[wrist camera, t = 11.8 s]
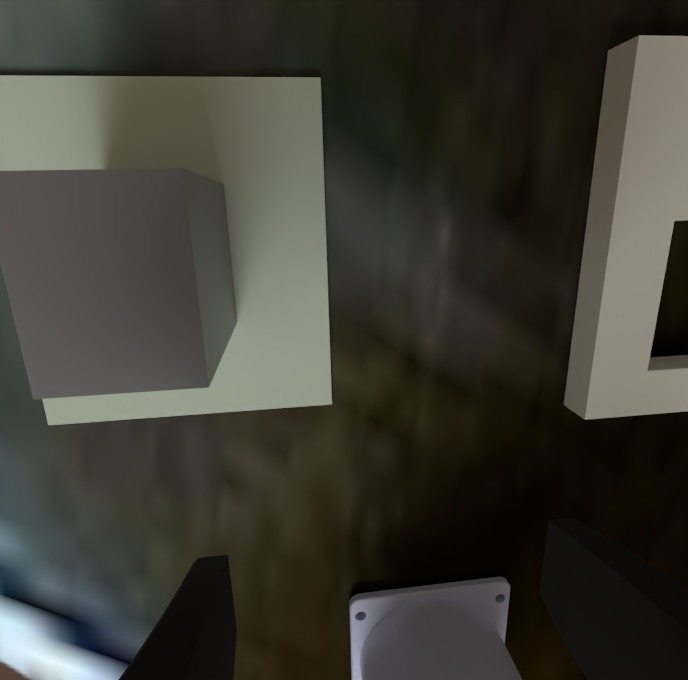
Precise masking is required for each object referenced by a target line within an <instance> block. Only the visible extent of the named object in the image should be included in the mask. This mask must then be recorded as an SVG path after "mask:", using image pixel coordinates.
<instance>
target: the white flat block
mask: <svg viewBox="0 0 688 680" xmlns="http://www.w3.org/2000/svg"><path fill="white" fill-rule="evenodd" d="M682 220H688V36H653V35H639V36H636V37H634V38H632V39H630V40H628V41H626V42H624V43H622V44H620V45H618V46H616V47H614V48H612V49H610V50H608V55H607V63H606V71H605V79H604V87H603V95H602V103H601V111H600V119H599V127H598V135H597V143H596V151H595V159H594V167H593V175H592V183H591V191H590V199H589V207H588V215H587V223H586V231H585V239H584V247H583V255H582V263H581V271H580V279H579V287H578V295H577V303H576V311H575V319H574V327H573V335H572V343H571V351H570V359H569V367H568V375H567V383H566V391H565V398H564V405H565V406H566V407H568V408H569V409H570V410H572V411H573V412H575V413H576V414H577V415H579V416H580V417H582V418H583V419H584V420H587V419H599V418H611V417H623V416H636V415H648V414H660V413H672V412H684V411H688V355H679V356H664V357H650V354H651V349H652V343H653V337H654V332H655V326H656V321H657V315H658V310H659V304H660V298H661V293H662V287H663V282H664V276H665V270H666V265H667V259H668V254H669V248H670V243H671V237H672V231H673V226H674V221H682Z"/></svg>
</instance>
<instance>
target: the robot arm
mask: <svg viewBox="0 0 688 680" xmlns="http://www.w3.org/2000/svg"><path fill="white" fill-rule="evenodd" d="M539 592H540V594H541V596H542V598H543V601H544V603H545V605H546V607H547V609H548V611H549V613H550V615H551V617H552V619H553V621H554V623H555V625H556V627H557V629H558V631H559V633H560V635H561V637H562V639H563V641H564V642H565V644H566V645H567V647H568V649H569V650H570V652H571V654H572V655H573V657H574V658H575V660H576V661H577V663H578V665H579V666H580V668H581V669H582V671H583V673H584V674H585V676H586V677H587V679H588V680H688V587H687V586H685V585H683V584H682V583H680V582H678V581H677V580H675V579H673V578H672V577H670V576H668V575H667V574H665V573H663V572H662V571H660V570H659V569H657V568H655V567H654V566H652V565H650V564H649V563H647V562H646V561H644V560H642V559H641V558H639V557H638V556H636V555H634V554H633V553H631V552H630V551H628V550H626V549H625V548H623V547H621V546H620V545H618V544H617V543H615V542H613V541H612V540H610V539H609V538H607V537H605V536H604V535H602V534H601V533H599V532H597V531H596V530H594V529H592V528H591V527H589V526H587V525H586V524H584V523H582V522H580V521H579V520H577V519H575V518H565V519H556V520H548V527H547V535H546V543H545V551H544V559H543V567H542V575H541V583H540V591H539ZM509 596H510V585H509V583H508V582H507V580H506V579H505V578H504V577H492V578H484V579H475V580H467V581H459V582H451V583H442V584H434V585H426V586H417V587H409V588H401V589H393V590H384V591H376V592H368V593H360V594H356V595H354V596H353V597H352V598H351V599H350V602H349V613H350V651H351V680H522V678H521V676H520V674H519V672H518V670H517V668H516V666H515V664H514V662H513V660H512V658H511V656H510V654H509V652H508V650H507V648H506V646H505V635H506V625H507V616H508V606H509ZM359 612H362V613H359ZM236 633H237V629H236V620H235V612H234V604H233V595H232V587H231V578H230V570H229V562H228V555H222V556H213V557H204V558H198V559H197V560H196V561H195V562H194V563H193V565H192V567H191V568H190V570H189V572H188V574H187V575H186V577H185V579H184V581H183V582H182V584H181V586H180V587H179V589H178V591H177V592H176V594H175V596H174V597H173V599H172V601H171V602H170V604H169V606H168V607H167V609H166V610H165V612H164V614H163V615H162V617H161V618H160V620H159V621H158V623H157V624H156V626H155V627H154V629H153V631H152V632H151V634H150V635H149V637H148V638H147V640H146V641H145V643H144V644H143V646H142V647H141V649H140V650H139V652H138V653H137V655H136V656H135V658H134V659H133V660H132V662H131V663H130V665H129V666H128V668H127V669H126V670H125V672H124V673H123V674H122V676H121V677H120V679H119V680H233V674H234V662H235V647H236Z"/></svg>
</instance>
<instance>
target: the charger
mask: <svg viewBox="0 0 688 680" xmlns="http://www.w3.org/2000/svg"><path fill="white" fill-rule="evenodd" d="M0 264H1V268H2V272H3V276H4V280H5V284H6V288H7V293H8V297H9V301H10V305H11V309H12V313H13V318H14V322H15V326H16V330H17V334H18V338H19V343H20V347H21V351H22V355H23V359H24V363H25V367H26V372H27V376H28V380H29V384H30V388H31V392H32V397H33V399H47V398H62V397H77V396H92V395H106V394H121V393H136V392H151V391H165V390H180V389H195V388H209V386H210V384H211V382H212V379H213V377H214V375H215V372H216V370H217V368H218V365H219V363H220V361H221V359H222V356H223V354H224V352H225V349H226V347H227V345H228V342H229V340H230V338H231V336H232V333H233V331H234V329H235V326H236V324H237V316H236V306H235V295H234V285H233V274H232V264H231V253H230V243H229V232H228V222H227V211H226V201H225V190H224V184H223V183H220V182H218V181H215V180H213V179H210V178H207V177H205V176H202V175H200V174H197V173H194V172H192V171H189V170H187V169H184V168H154V169H89V170H24V171H0Z"/></svg>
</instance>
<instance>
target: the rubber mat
mask: <svg viewBox="0 0 688 680" xmlns="http://www.w3.org/2000/svg"><path fill="white" fill-rule="evenodd" d="M154 168H184V169H187V170H189V171H192V172H194V173H197V174H200V175H202V176H205V177H207V178H210V179H213V180H215V181H218V182H220V183H223V184H224V190H225V201H226V211H227V222H228V232H229V243H230V253H231V264H232V274H233V285H234V295H235V306H236V316H237V324H236V326H235V329H234V331H233V333H232V336H231V338H230V340H229V342H228V345H227V347H226V349H225V352H224V354H223V356H222V359H221V361H220V363H219V365H218V368H217V370H216V372H215V375H214V377H213V379H212V382H211V384H210V386H209V388H195V389H180V390H165V391H151V392H136V393H121V394H106V395H92V396H77V397H62V398H47V399H42V400H43V404H44V408H45V413H46V417H47V421H48V425H59V424H72V423H86V422H99V421H113V420H126V419H140V418H153V417H167V416H181V415H194V414H208V413H221V412H235V411H248V410H262V409H275V408H289V407H302V406H316V405H329V404H332V389H331V361H330V332H329V303H328V275H327V246H326V218H325V189H324V160H323V132H322V103H321V77H179V76H18V75H0V171H24V170H89V169H154Z"/></svg>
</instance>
